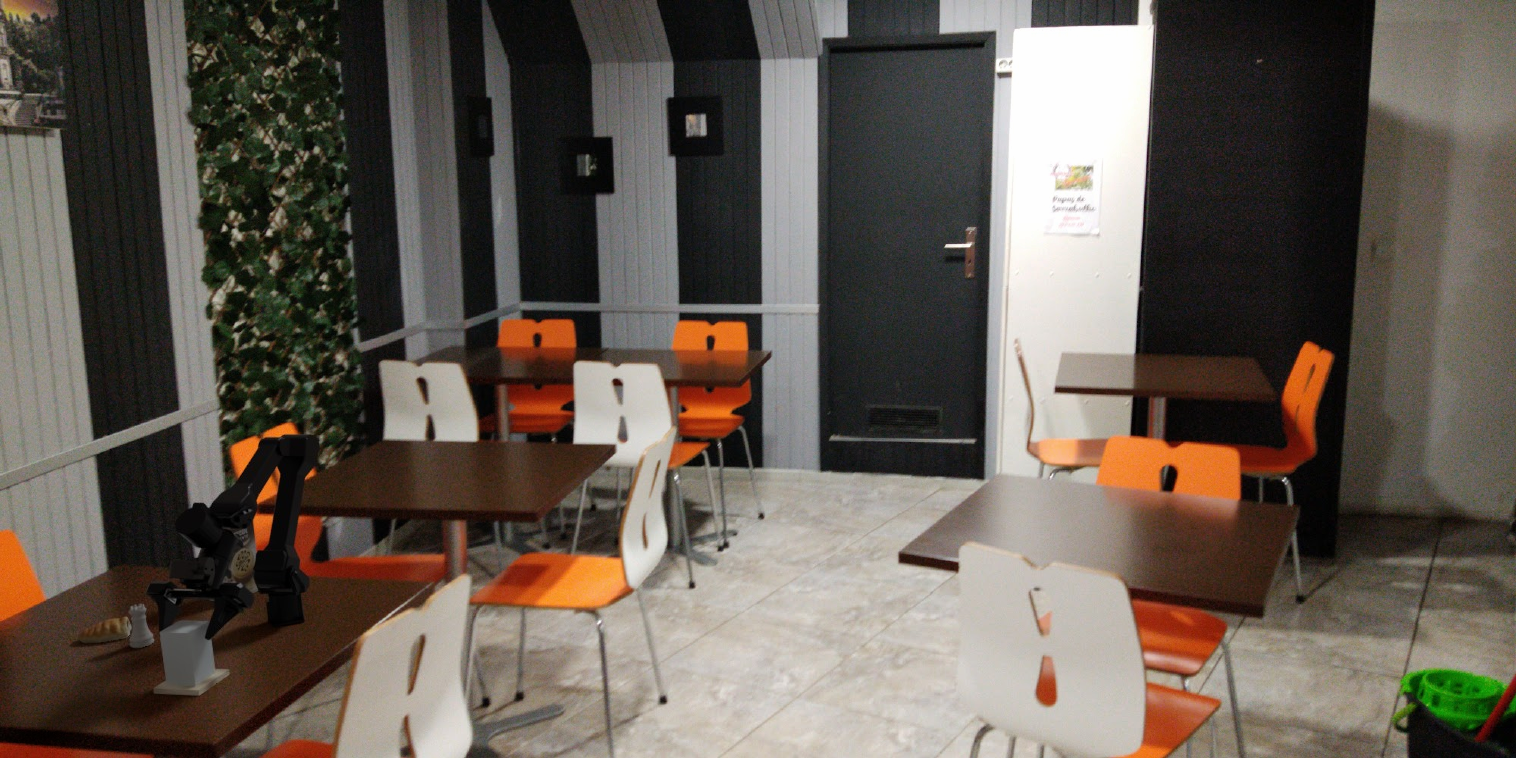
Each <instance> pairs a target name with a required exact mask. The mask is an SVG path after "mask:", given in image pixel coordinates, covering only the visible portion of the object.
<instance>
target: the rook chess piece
mask: <svg viewBox="0 0 1516 758" xmlns="http://www.w3.org/2000/svg"><path fill="white" fill-rule="evenodd" d="M146 612H147V608H146V607H145V604H144V603H138V606H137V604H133V605H131V606H130V607H129V610H128V614H129V615H130V617H131V618H130V621H131V623H132V624H131V627H132V629H131V633H130V636H129V646H130V647H131V648H132V649H142V648H143V647H144V648H146V647H145V646H147V647H149V646H151V645H153V644H154V642H155V638H154V634H153V632H151V630H150V629H149V627H148V623H147V619H146V618H147V615H146ZM152 643H153V644H152Z"/></svg>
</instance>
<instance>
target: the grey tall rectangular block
mask: <svg viewBox="0 0 1516 758" xmlns="http://www.w3.org/2000/svg"><path fill="white" fill-rule="evenodd" d="M209 622H210V620H195V619H194V620H191V619H179V620H178V621H176V622H174V623H173V624H172V625H171V626H169V627H168V628H166V629H164V630H162V631H161V632H160V637H159V639H160V646H161V654H162V660H163V668H164V669H163V670H164V676H165V680H166V684H167V685H179V686H197V685H198V684H200V683H201V682H203V681H204V680H206V679H207V678H209V677H210V676H212V675H213V674H214V673H216V672H215V669H216V666H215V660H214V659H215V658H214V651H213V650H214V649H213V643H212V642H213V640H212V638H211V639H210V640H206V639H205V634H206V630H207V627H208V625H209Z"/></svg>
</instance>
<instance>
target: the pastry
mask: <svg viewBox="0 0 1516 758" xmlns="http://www.w3.org/2000/svg"><path fill="white" fill-rule="evenodd" d="M130 621H131V620H130V619H129V618H128V616H123V617H121V618H120V617H119V618H118V617H117V618H115V617H114V618H111V619H110V618H109V619H106V620H104V621H99V622H97V623H96V624H93V625H91V626H89V627H87V628H84V629H83V630H81V631H80V633H78V635H77V637H78V640H79V641H80V642H81V643H84V644H97V643H98V644H101V642H103V643H107V641H109V642H114V641H113V640H116V641H119V640H118V639H122V640H125V638H126V639H128V638H129V637H130V636H131V632H132V624H131V622H130ZM129 635H130V636H129ZM128 636H129V637H128ZM127 637H128V638H127ZM111 640H112V641H111Z"/></svg>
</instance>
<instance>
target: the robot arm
mask: <svg viewBox="0 0 1516 758" xmlns="http://www.w3.org/2000/svg"><path fill="white" fill-rule="evenodd" d="M320 446H321V445H320V441H319V440H318V439H317V438H316V437H315V435H313V434H310V433H309V434H306V433H305V434H300V433H299V434H297V433H293V434H292V433H291V434H289V433H288V434H282V435H281V436H266V437H263V438H260V440H259V441H258V445H257V448H256V450H255V451H254V453H253V455H252V457H251V459H250V460H249V461H248V462H247V465H246V466H245V468H244V469H243V470H242V472H241V473H240V475H239V476H238V478H237V480H236V481H235V483H234V484H233V485H232V486H231V487H229V488H227V489H225V490H224V491H221V492H220V493H219V494H218V496H216V498H215V499H214V500H213V501H212V502H211V504H210V506H208V505H207V504H205V502H193V503H192V505H191V507H190V508H187V509H186V510H183V512H182V513H181V514H180V515H179V516H177V518H176V519H175V524H174V527H175V528H174V529H175V531H176V532H177V533H178V534H179V535H181V536H182V538H183V539H185V540H187V542H188V543H190V544H191V545H193V546H194V547H195V548H198V549H199V551H198V552H199V553H198V555H197V556H196V557H192V558H191V559H190V560H170V566H169V571H168V572H169V573H168V580H153V581H151V582H149V584H148V585H147V588H146V590H145V595H146V596H147V597H149V598H150V600H151V601H152V602H154V603H156V606H157V611H158V638H160V632H161V631H162V630H164V629H166V628H168V627H169V626H171V625H173V624H174V623H175V621H176V619H177V617H178V616H179V613H180V612H181V610H182V608H181V607H180V605H181V604H183V603H184V600H207V601H208V600H209V601H210V600H214V601H213V602H214V608H213V611H212V615H211V617H210V620H209V625H208V627H207V630H206V634H205V639H206V640H210V639H211V640H212V638H213V637H215V635H216V634H217V633H219V632H220V630H221V629H222V628H224V627H225V625H227V624H228V623H229V622H230V621H231V620H232V619H234V618H235V617H236V616H237V615H239V613H241V614H242V613H244V612H245V610H251V609H252V607H253V604H254V601H255V595H254V593H252V592H251V591H250V590H248V589H247V588H246V587H245V586H244V585H242V584H241V583H223V580H224V578H225V576H230V574H231V571H230V570H229V569H228V567H229V564H230V562H231V559H232V556H233V554H234V551H235V548H243V547H244V545H243V541H242V540H241V538H240V534H234V533H233V532H232V531H230V530H228V529H245V528H248V527H249V526H250V525H251V524H252V522H253V523H254V519H255V517H256V515H257V513H258V510H259V506H258V498H259V496H260V494H261V493H262V491H263V489H264V488H265V486H266V485H267V483H268V481H270V478H271V477H272V475H273V473H274V472H275V470H276V469H277V470H278V472H279V480H278V485H277V492H276V498H275V503H274V504H275V505H274V510H273V516H272V519H271V520H272V522H271V528H270V533H269V539H268V543H267V545H266V546H265V547H264V549H258V550H256V551H257V553H256V558H255V565H254V567H253V570H254V571H253V578H254V581H255V584H256V586H257V589H258V591H257V592H258V593H259V595H268V598H266V599H265V606H266V616H267V621H268V622H269V623H270V627H271V628H274V627H280V626H287V625H292V624H297V623H298V624H299V623H303V622H305V621H306V620H305V619H306V617H305V609H304V608H303V607H304V606H303V598H302V594H303V593H306V592H307V589H309V588H310V576H308V575H307V574H306V573H305V572H304V571H303V570H302V569H301V567H300V566H301V559H300V556H299V554H298V552H297V550H296V547H295V543H296V537H297V531H298V525H299V519H300V514H301V513H300V511H301V506H302V500H303V493H304V489H305V488H304V487H305V481H306V478H307V477H308V475H309V474H310V473H311V472H312V470H313V469H315V467H316V463H317V461H318V458H319V457H318V456H319V454H320V451H321V447H320ZM169 579H170V580H169ZM172 579H178V580H179V581H178V582H179V583H180V584H181V585H182V586H185V587H179V586H177V585H176V584H175V583H174V582H172V581H171V580H172ZM222 583H223V584H222Z"/></svg>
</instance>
